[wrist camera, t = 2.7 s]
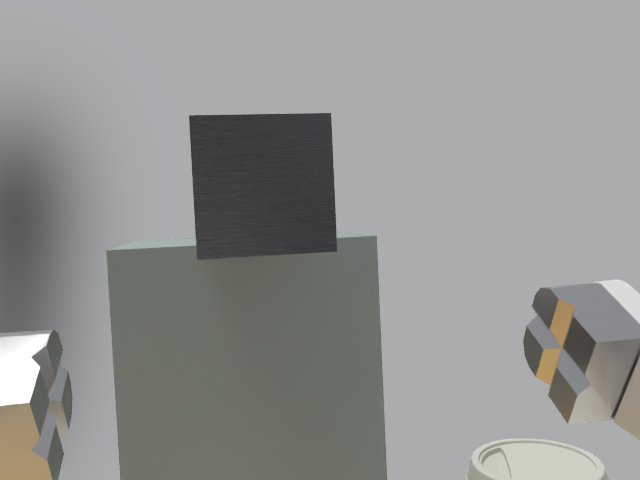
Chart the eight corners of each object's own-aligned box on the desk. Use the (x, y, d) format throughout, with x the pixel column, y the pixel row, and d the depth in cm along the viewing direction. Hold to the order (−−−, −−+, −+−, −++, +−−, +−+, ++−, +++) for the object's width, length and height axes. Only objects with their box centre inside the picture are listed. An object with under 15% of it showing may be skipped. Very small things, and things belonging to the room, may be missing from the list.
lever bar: (337, 251, 18) (331, 112, 18) (196, 259, 17) (188, 115, 17) (263, 233, 41) (260, 174, 41) (203, 236, 41) (200, 176, 40)
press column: (419, 769, 30) (397, 234, 28) (118, 835, 27) (81, 251, 26) (345, 578, 45) (329, 229, 44) (151, 609, 43) (129, 239, 42)
